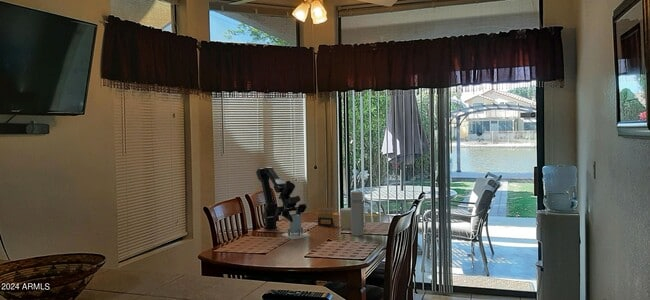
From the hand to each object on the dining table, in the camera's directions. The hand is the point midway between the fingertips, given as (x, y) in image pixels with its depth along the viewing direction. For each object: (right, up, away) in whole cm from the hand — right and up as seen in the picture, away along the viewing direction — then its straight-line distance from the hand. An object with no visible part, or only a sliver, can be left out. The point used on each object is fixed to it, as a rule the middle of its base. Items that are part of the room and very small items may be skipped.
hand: (296, 221), depth 277 cm
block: (-1, -7, +1) cm, 7 cm away
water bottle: (+36, -8, 0) cm, 37 cm away
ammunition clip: (+17, -8, +33) cm, 38 cm away
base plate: (-1, -9, +1) cm, 9 cm away
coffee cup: (+31, -8, +22) cm, 39 cm away
